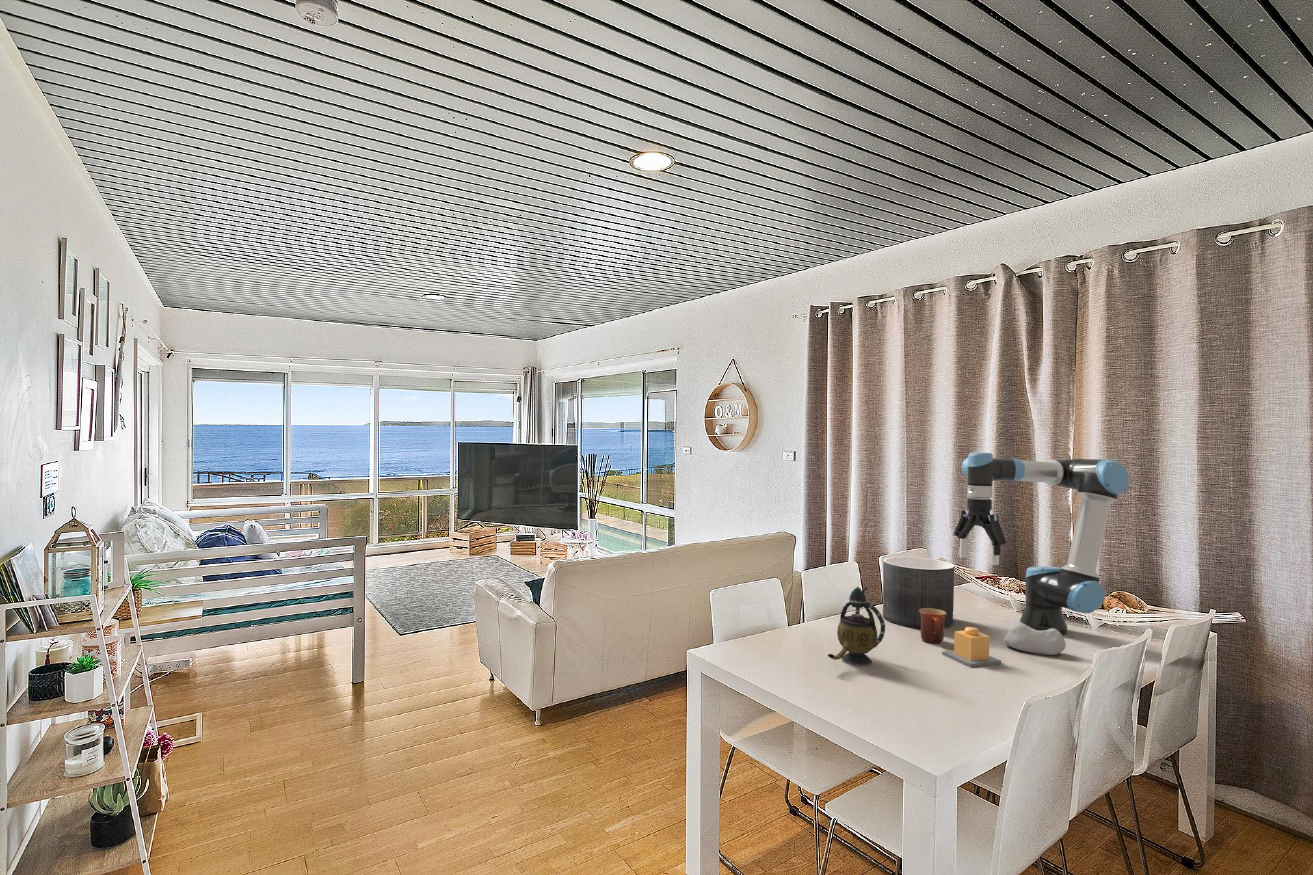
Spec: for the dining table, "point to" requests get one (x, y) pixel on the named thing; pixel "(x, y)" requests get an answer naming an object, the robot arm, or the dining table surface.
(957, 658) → the plate
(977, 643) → the orange cube with dome
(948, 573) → the planter
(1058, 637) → the decorative stone
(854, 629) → the teapot
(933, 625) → the mug
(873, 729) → the dining table surface
